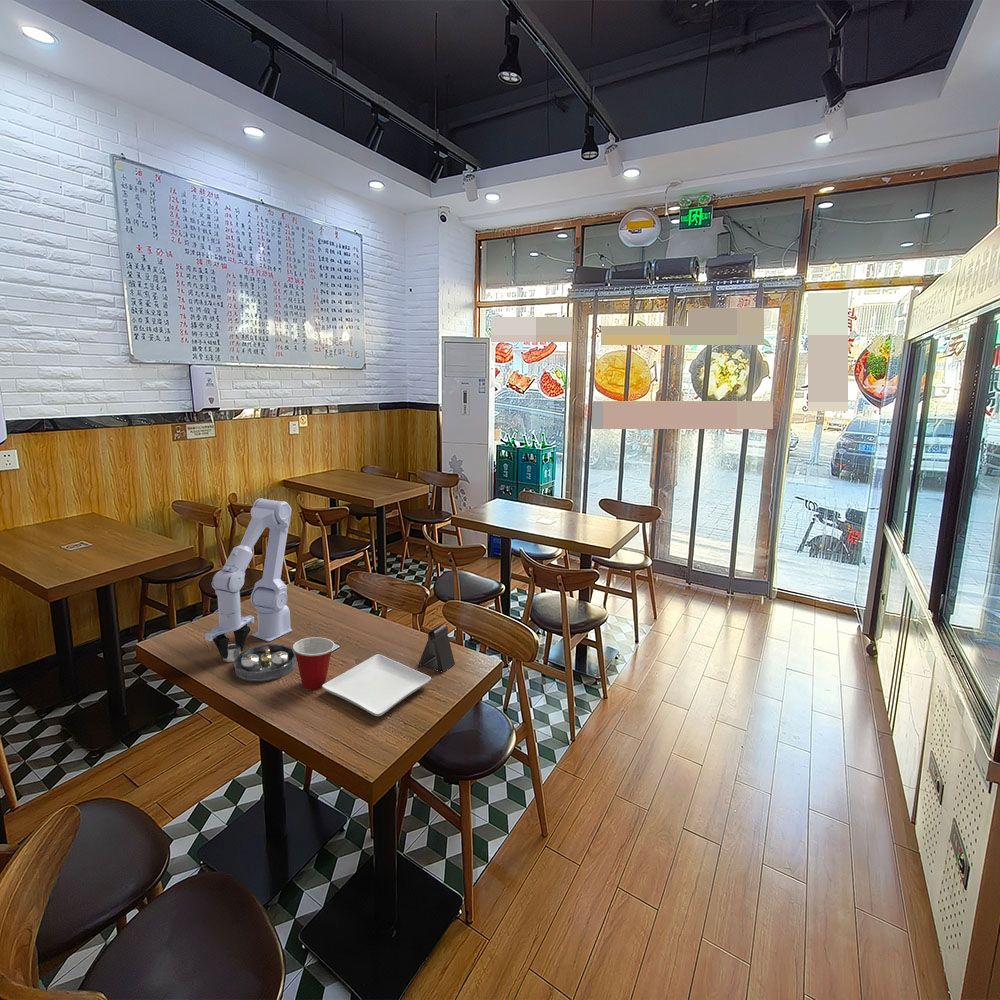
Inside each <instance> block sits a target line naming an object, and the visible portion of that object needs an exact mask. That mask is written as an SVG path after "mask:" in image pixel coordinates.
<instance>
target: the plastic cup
mask: <svg viewBox="0 0 1000 1000" xmlns="http://www.w3.org/2000/svg"><path fill="white" fill-rule="evenodd" d="M335 647H336V644H335V642H334V641H333V640H332V639H329V638H327V637H319V636H316V637H314V636H312V637H306V638H302V639H300V640H298V641H297V640H296V641H295V642H294V644H292V648H293V650H294V651H295V655H296V659H297V661H296V664H297V666H298V667H297V668H298V672H299V676H300V680H301V684H302V687H303V689H305V690H308V691H317V690H319V689H322V688H323V687H322V685H323V684H325V683H326V681H327V674H328V671H329V665H330V661H331V660H330V659H331V656H332V653H333V651H334V649H335Z"/></svg>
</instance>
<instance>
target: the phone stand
mask: <svg viewBox="0 0 1000 1000" xmlns="http://www.w3.org/2000/svg"><path fill="white" fill-rule="evenodd" d="M448 634H449V628H448V626H447V624H444V623H440V624H439V625H437V626H435V628H433V629H431V630H430V631H428V632H427V637H428V638H427V642H426V644H425V646H424V649H423V652H422V654H421V656H420V658H419V661H418V664H419V665H420V664H421V665H420V666H423V667H425V666H427V667H426V668H428V667H429V668H428V669H431V668H432V670H433V669H436V670H438V671H437V672H439V671H442V672H444V671H445V672H446V671H448V670H449V669H451V668H452V667H453V666H454V665H456V663H455V659H454V655H453V651H452V646H451V643H450V639H449V635H448ZM452 665H453V666H452ZM451 666H452V667H451ZM448 668H449V669H448ZM447 669H448V670H447ZM436 670H435V671H436ZM445 672H444V673H445Z"/></svg>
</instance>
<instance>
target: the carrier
mask: <svg viewBox="0 0 1000 1000" xmlns="http://www.w3.org/2000/svg"><path fill="white" fill-rule="evenodd" d="M233 666H234V671H235V673H234V674H235V676H236V677H237V678H238V679H240V680H242V681H244V682H250V683H265V682H270V681H275V680H277V679H281V678H283V677H285V676H286V675H289V674H290V673H291V672H292V671H293V670H294V669H295V667H296V666H297V659H296V655H295V651H294V650H293V647H290V646H288V645H285V644H280V643H279V644H278V643H277V644H274V643H269V644H264V645H263V644H262V645H258V646H253V647H251V648H249V649H247V650H245V651H241V653H240V655H239V656H238V657H237V658H236V659H235V660H234V662H233Z"/></svg>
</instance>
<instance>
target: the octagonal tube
mask: <svg viewBox="0 0 1000 1000" xmlns="http://www.w3.org/2000/svg"><path fill="white" fill-rule="evenodd" d="M240 653H242V651H241V647H240V645H239V644H235V643H228V658H226V659H225V658H223V661H224V662H226V663H232V662H233V663H234V660H235V659H236V658H237V657H238V656H239V655H240Z"/></svg>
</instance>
